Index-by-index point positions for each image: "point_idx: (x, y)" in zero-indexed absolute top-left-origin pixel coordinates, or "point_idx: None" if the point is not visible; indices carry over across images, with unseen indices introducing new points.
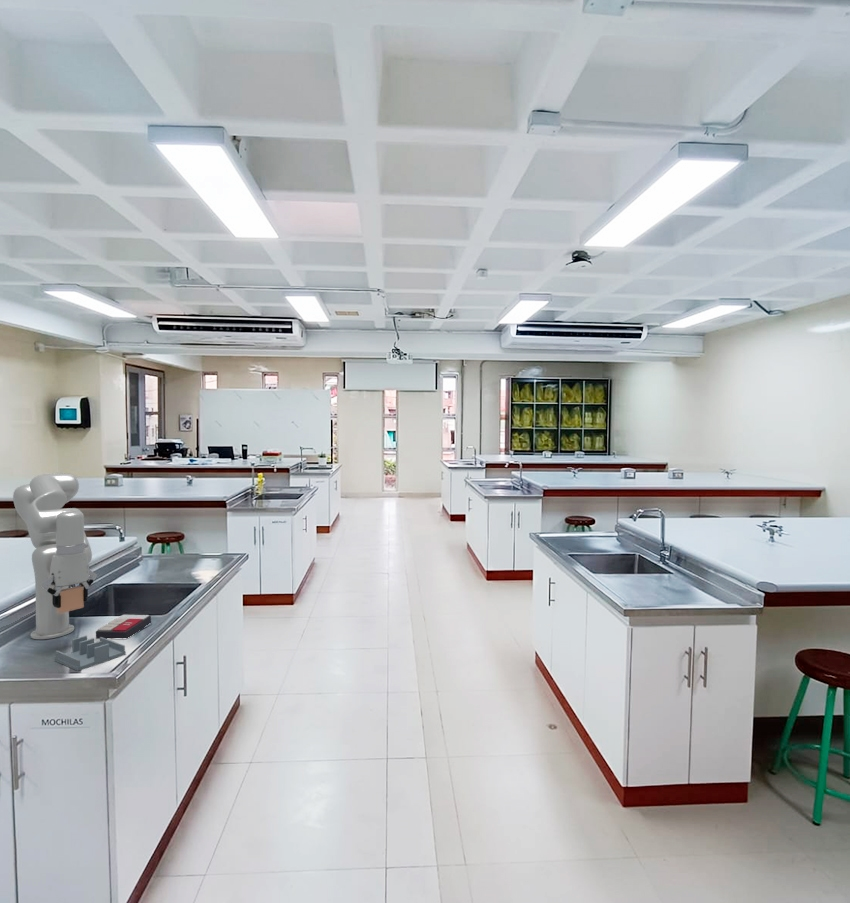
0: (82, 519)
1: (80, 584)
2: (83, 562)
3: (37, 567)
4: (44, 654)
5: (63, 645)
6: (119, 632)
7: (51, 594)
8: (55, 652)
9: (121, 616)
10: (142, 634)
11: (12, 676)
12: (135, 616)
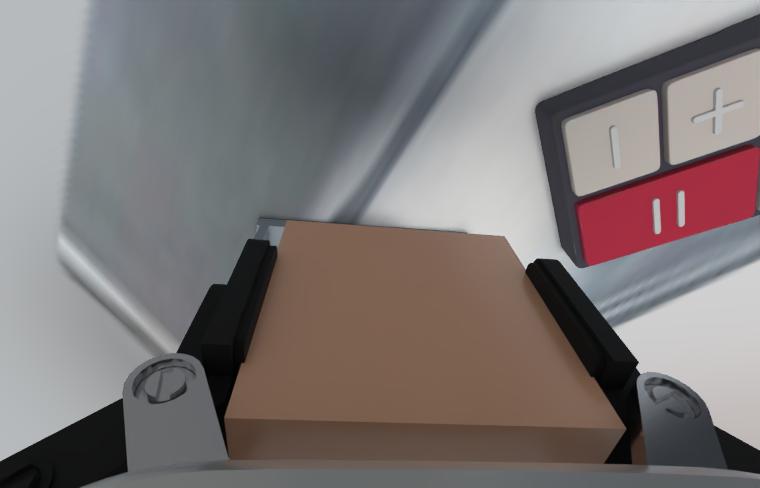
0: None
1: (632, 452)
2: None
3: None
4: (268, 82)
5: (395, 35)
6: (571, 242)
7: (151, 366)
8: (255, 237)
9: None
10: (631, 260)
11: (79, 227)
12: None
